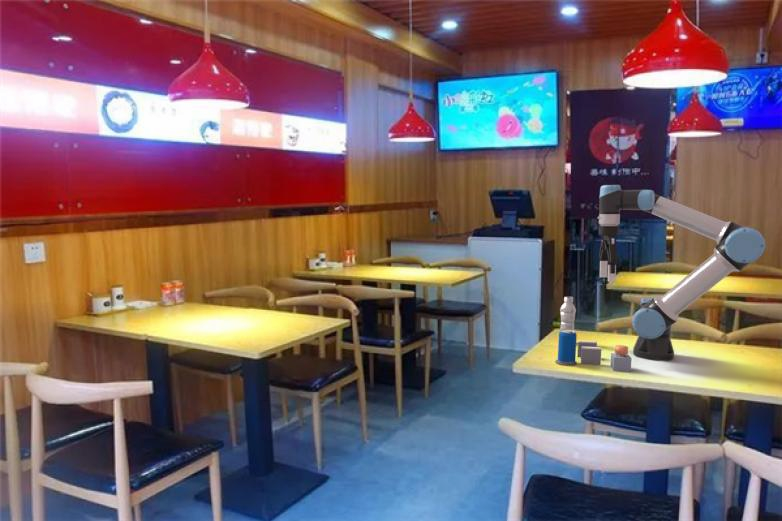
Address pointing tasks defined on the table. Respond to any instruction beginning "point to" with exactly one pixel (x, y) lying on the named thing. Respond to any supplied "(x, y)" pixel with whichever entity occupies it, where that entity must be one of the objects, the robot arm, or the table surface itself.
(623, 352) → the plunger
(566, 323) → the plastic bottle
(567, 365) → the pad
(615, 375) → the table surface
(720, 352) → the table surface
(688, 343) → the table surface
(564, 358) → the beverage can
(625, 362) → the block
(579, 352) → the cradle
